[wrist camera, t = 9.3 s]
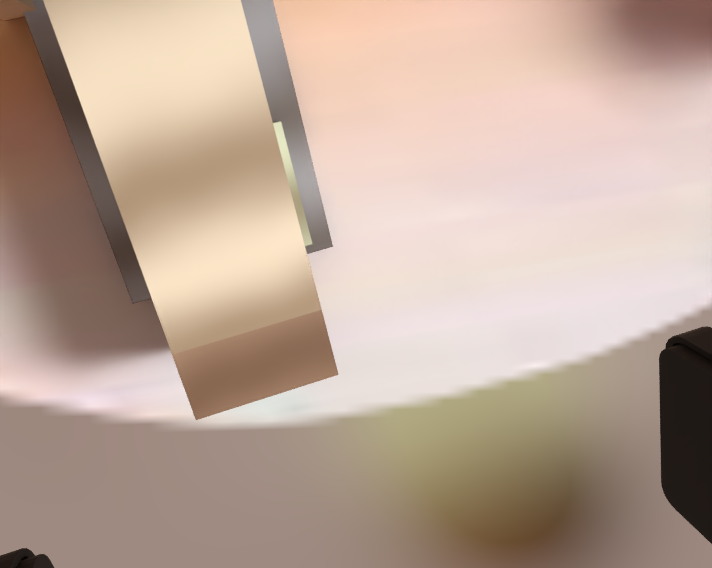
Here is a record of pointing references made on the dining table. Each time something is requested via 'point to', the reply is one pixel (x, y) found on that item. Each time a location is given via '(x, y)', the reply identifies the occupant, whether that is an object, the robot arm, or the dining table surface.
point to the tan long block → (282, 101)
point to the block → (200, 191)
